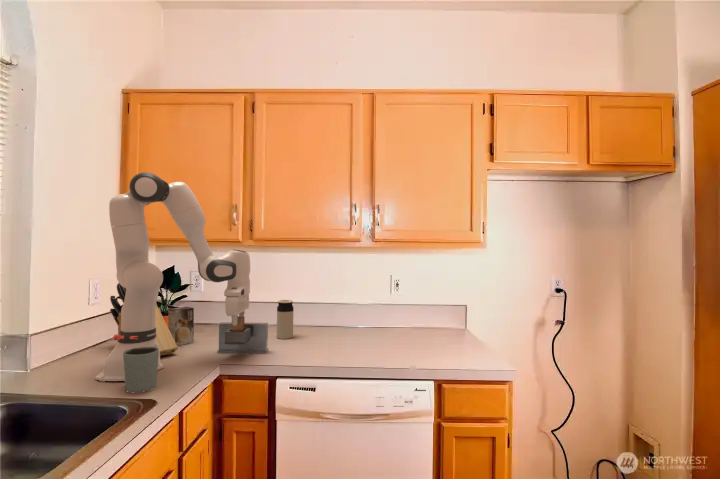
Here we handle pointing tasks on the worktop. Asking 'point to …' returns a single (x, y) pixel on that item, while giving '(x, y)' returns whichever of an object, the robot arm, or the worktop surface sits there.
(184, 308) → the coffee box
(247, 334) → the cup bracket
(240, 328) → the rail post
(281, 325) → the travel mug
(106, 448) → the worktop surface
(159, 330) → the knife block
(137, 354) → the grey-green planter pot
